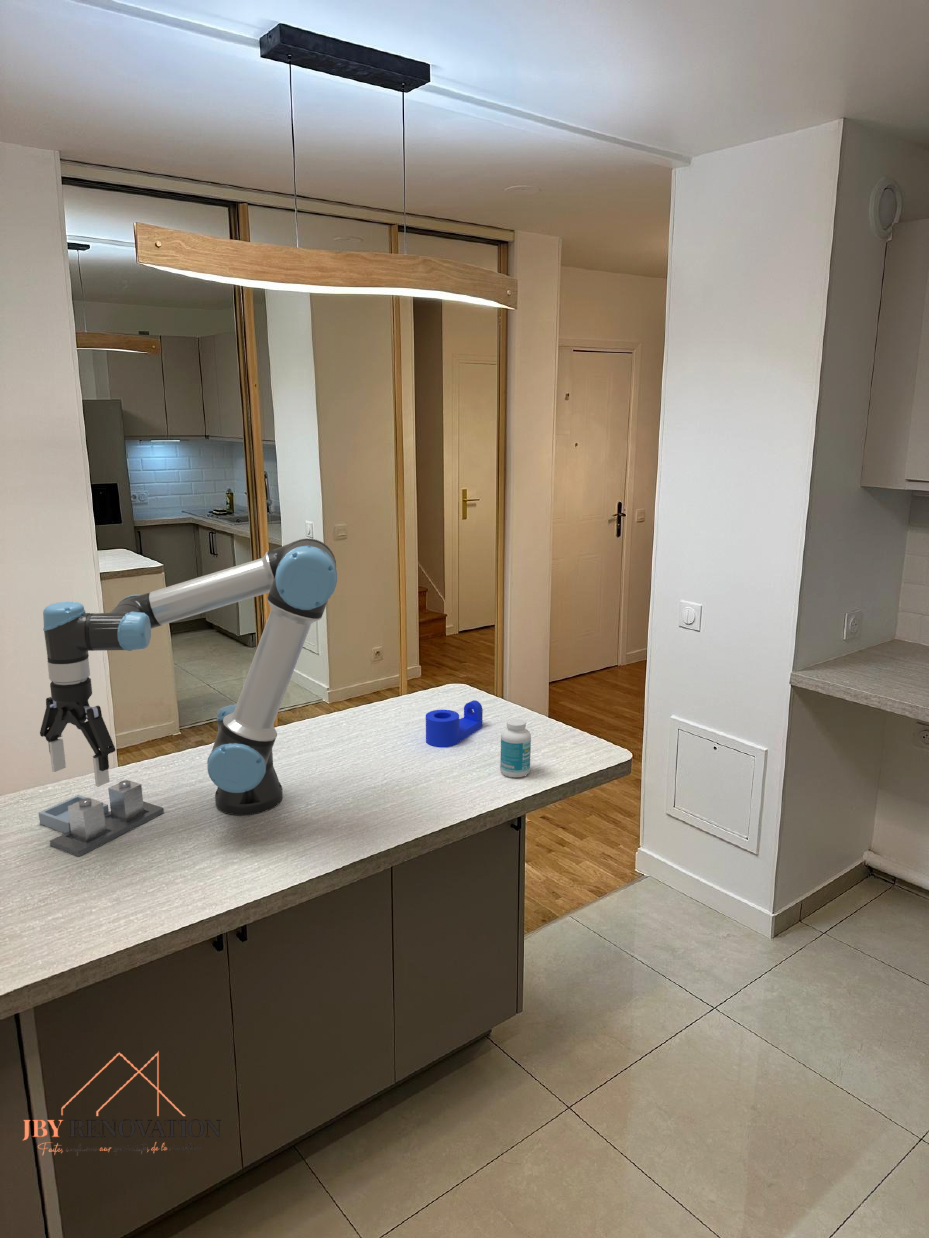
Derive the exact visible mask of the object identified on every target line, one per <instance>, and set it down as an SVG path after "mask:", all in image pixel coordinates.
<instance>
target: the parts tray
mask: <svg viewBox="0 0 929 1238" xmlns="http://www.w3.org/2000/svg"><path fill="white" fill-rule="evenodd" d="M85 798H87V797H86V796H83V795H80V794H77V795H75V796H73V797H70V798H68V799H66V800H63V801H61V802H59V803H57V804H54V805H53V806H50V807H47V808H46V809H44V810H41V811H39V812H38V820H39V825H42V826H45V827H47V828H50V829H53V830H55V831H59V832H61V833H63V834H64V833H67V832H69V831H71V828H70V819H69V811H68V806H70V805H72V804H74V803H76V802H78V801H80V800H81V799H85ZM103 808H104V814H106V813H108V812H110V809H109V804H108V803H104V802H103Z"/></svg>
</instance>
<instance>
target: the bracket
mask: <svg viewBox="0 0 929 1238" xmlns="http://www.w3.org/2000/svg"><path fill="white" fill-rule="evenodd" d="M483 711H484V710H483V706H482V704H481V703H480V702H479V700H475V699H474V700H471V701H468V702H467V703H465V705H464V706H463V717H461V718H460V713H458V712H457V711H455V710H451V709H435V710H431V711H429V712H427V713H426V714H425V743H426V744H427V745H428V746H429V747H433V748H439V749H440V748H441V749H443V748H451V747H455V746H456V745H458V744H459V743H461V742H462V741H464V740H466V739H467V738H469V737H470V736H471V735H473V734H474V733H476V732H477V731H479V730H480V729H481V728H483Z"/></svg>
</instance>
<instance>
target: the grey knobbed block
mask: <svg viewBox="0 0 929 1238" xmlns="http://www.w3.org/2000/svg"><path fill="white" fill-rule="evenodd" d="M107 790H108V799H109V806H110V811H111V817H112V819H113V820H116V821H119V822H122V823H125V824H126V823H128V822H130V821H132V820H134V819H136V818H138V817H140V816H142V815H144V806H143V801H144V799H143V798H144V797H143V796H144V795H143V788H142V784H141V783H138V782H135V781H131V780H129V779H125V780H121V781H119V782H118V783H116V784H113V785H112V786H110V787H107Z"/></svg>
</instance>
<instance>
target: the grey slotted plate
mask: <svg viewBox="0 0 929 1238" xmlns="http://www.w3.org/2000/svg"><path fill="white" fill-rule="evenodd" d="M143 806H144V815H142V816H140V817H138V818H136V819H134V820H132V821H130V822H128V823H126V824H125V823H122V822H119V821H116V820H113V819H112V817H111V810H109V812H108V813H106V814H104V816H105V825H106V834H105V835H103V836H101V837H99V838H97V839H95V840H93V841H91V842H89V843H87V844H84V843H82V842H79V841H76V840H74V839H72V836H71V831H69V832H67V833H63V834H60V835H59V836H57V837H54V838H52V839H50V840H49V845H50V847H52V848H55V849H57V850H59V851H63V852H65V853H67V854H71V855H73V856H76V857H78V858H80V857H81V856H83V855H85V854H87V853H89V852H92V851H93V850H95V849H97V848H99V847H101V846H102V845H104V844H106V843H109V842H110V841H112V840H114V839H116V838H119V837H120V836H122V835H123V834H126V833H128V832H130V831H132V830H133V829H135V828H137V827H139V826H141V825H143V824H145V823H147V822H149V821H151V820H152V819H155V818H156V817H159V816H161V815H162V814H165V809H164V807H162V806H159V805H156V804H153V803H149V802H146V801H144V800H143Z"/></svg>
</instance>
